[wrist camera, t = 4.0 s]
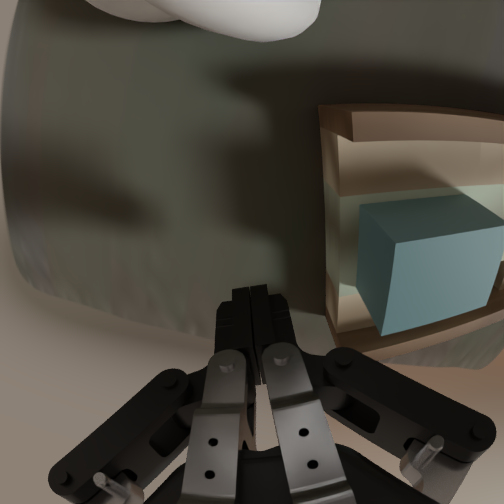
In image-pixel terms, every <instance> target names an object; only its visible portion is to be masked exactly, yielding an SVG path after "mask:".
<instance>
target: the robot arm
mask: <svg viewBox="0 0 504 504" xmlns="http://www.w3.org/2000/svg"><path fill="white" fill-rule="evenodd" d="M250 292H251V295H250ZM260 373H261V378H262V383H263V384H267V389H268V395H269V400H270V405H271V409H272V414H273V419H274V424H275V428H276V433H277V438H278V443H279V446H276V447H274V448H271V449H268V450H265V451H257V449H256V388H255V385H261V378H260ZM324 411H325V412H326V413H327V414H328V415H330V416H331V417H333V418H335V419H336V420H338V421H339V422H340V423H342V424H343V425H345V426H347V427H348V428H350V429H351V430H353V431H354V432H356V433H358V434H359V435H361V436H362V437H364V438H366V439H367V440H369V441H371V442H372V443H374V444H376V445H377V446H379V447H381V448H382V449H384V450H386V451H387V452H389V453H391V454H392V455H394V456H396V457H398V458H400V459H401V461H400V466H399V467H400V471H401V473H402V475H403V476H404V477H405V478H406V479H407V480H409V482H410V483H411V484H412V486H413V487H411V486H409V485H408V484H406V483H404V482H403V481H401V480H400V479H398V478H396V477H395V476H393V475H392V474H390V473H388V472H387V471H385V470H384V469H382V468H381V467H379V466H378V465H376V464H374V463H373V462H372V461H370V460H369V459H367V458H366V457H364V456H362V455H361V454H360V453H358V452H357V451H355V450H353V449H351V448H349V447H347V446H344V445H340V444H336V443H334V441H333V437H332V434H331V432H330V429H329V425H328V422H327V419H326V417H325V413H324ZM495 438H496V427H495V424H494V422H493V421H492V420H491V419H490V418H489V417H488V416H486V415H484V414H481V413H479V412H477V411H475V410H473V409H471V408H468V407H467V406H465V405H463V404H460V403H458V402H456V401H454V400H452V399H450V398H448V397H446V396H444V395H442V394H440V393H438V392H436V391H434V390H432V389H429V388H428V387H426V386H424V385H422V384H420V383H418V382H416V381H414V380H412V379H410V378H408V377H406V376H404V375H402V374H400V373H398V372H397V371H395V370H393V369H391V368H389V367H387V366H385V365H383V364H381V363H379V362H377V361H375V360H374V359H372V358H370V357H368V356H366V355H364V354H362V353H360V352H359V351H357V350H355V349H353V348H349V347H338V348H335V349H333V350H331V351H329V352H328V353H327V354H326V356H319V355H311V354H308V353H306V352H304V351H302V350H301V349H300V348H299V347H298V345H297V342H296V338H295V334H294V329H293V325H292V321H291V317H290V312H289V307H288V303H287V300H286V299H285V298H284V297H283V296H282V295H281V294H275V295H268V290H267V284H263V285H257V286H250V290H249V287H243V288H236V289H232V301H226V302H222V303H221V304H220V306H219V307H218V309H217V313H216V330H215V350H214V355H213V356H212V357H211V358H210V360H209V362H208V365H207V366H206V367H205V368H203V369H201V370H199V371H196V372H193V373H191V374H188V375H187V374H186V373H185V372H184V371H182V370H180V369H167V370H164V371H162V372H161V373H160V374H158V375H157V376H156V377H155V378H153V379H152V380H151V381H150V382H149V383H148V384H147V385H146V386H145V387H143V388H142V389H141V390H140V391H139V392H138V393H137V394H136V395H135V396H133V397H132V398H131V399H130V400H129V401H128V402H127V403H126V404H124V405H123V406H122V407H121V408H120V409H119V410H118V411H117V412H115V413H114V414H113V415H112V416H111V417H110V418H109V419H107V421H105V422H104V423H103V424H102V425H101V426H99V427H98V428H97V429H96V430H95V431H94V432H93V433H91V434H90V435H89V436H88V437H87V438H86V439H84V440H83V441H82V442H81V443H80V444H79V445H78V446H76V447H75V448H74V449H73V450H72V451H71V452H69V453H68V454H67V455H66V456H65V457H63V458H62V459H61V460H60V461H59V462H57V463H56V464H55V465H54V466H53V467H52V468H51V470H50V472H49V476H48V482H49V485H50V488H51V489H52V490H53V491H54V492H55V493H56V494H58V495H60V496H61V497H63V498H65V499H67V500H68V501H69V502H71V503H72V504H449V503H450V501H451V500H452V498H453V497H454V495H455V493H456V491H457V490H458V488H459V487H460V485H461V483H462V482H463V480H464V478H465V476H466V474H467V473H468V471H469V469H470V467H471V465H472V463H473V462H474V461H475V460H476V459H478V458H479V457H480V456H481V455H482V454H483V453H484V452H485V451H486V450H487V449H488V448H489V447H490V446H491V445H492V444H493V442H494V440H495ZM188 445H189V446H188ZM187 446H188V452H187V458H186V463H184V464H182V465H181V466H179V467H178V468H177V469H176V470H175V471H174V472H173V473H172V474H171V475H170V476H169V477H168V478H167V479H166V480H165V481H164V482H163V483H162V484H161V485H160V487H158V488H157V490H156V491H155V492H154V493H153V494H152V495H151V496H150V497H149V498H148V499H147V500H146V501H145V502H144V492H143V489H144V488H145V487H147V486H148V485H149V484H150V483H151V482H152V481H153V480H154V479H155V478H156V477H157V476H158V475H159V474H160V473H161V472H162V471H163V470H164V469H165V468H166V467H167V466H168V465H169V464H170V463H171V462H172V461H173V460H174V459H175V458H176V457H177V456H178V455H179V454H180V453H181V452H182V451H183V450H184V449H185V448H186V447H187Z"/></svg>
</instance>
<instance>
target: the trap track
mask: <svg viewBox="0 0 504 504" xmlns="http://www.w3.org/2000/svg"><path fill="white" fill-rule="evenodd" d="M318 113H319V123H320V135H321V148H322V163H323V180H324V201H325V231H326V314H325V317H326V319H327V322H328V325H329V328H330V331H331V334H332V336H333V339H334V342H335V345H336V348H338V347H349V348H353V349H355V350H357V351H359V352H360V353H362V354H364V355H366V356H368V357H370V358H372V359H374V360H375V361H379V360H383V359H387V358H391V357H394V356H398V355H402V354H405V353H409V352H412V351H416V350H419V349H422V348H425V347H429V346H432V345H435V344H438V343H441V342H444V341H447V340H450V339H453V338H456V337H459V336H461V335H464V334H467V333H470V332H472V331H475V330H478V329H480V328H483V327H485V326H488V325H490V324H493V323H495V322H498V321H500V320H502V319H504V251H503V255H502V259H501V262H500V265H499V269H498V272H497V275H496V278H495V281H494V284H493V287H492V290H491V293H490V296H489V299H488V301H487V304H486V306H483V307H480V308H477V309H474V310H471V311H468V312H465V313H462V314H459V315H456V316H453V317H450V318H446V319H443V320H440V321H436V322H433V323H430V324H426V325H422V326H419V327H415V328H411V329H408V330H404V331H400V332H396V333H392V334H388V335H384V336H381V335H380V333H379V331H378V329H377V327H376V325H375V323H374V321H373V319H372V317H371V315H370V313H369V311H368V309H367V308H366V306H365V304H364V302H363V300H362V298H361V296H360V294H359V292H358V290H357V289H356V277H357V261H358V240H359V205H360V204H369V203H378V202H387V201H397V200H406V199H417V198H427V197H438V196H449V195H461V194H466V195H467V196H469V197H471V198H472V199H474V200H475V201H477V202H478V203H480V204H481V205H483V206H484V207H486V208H487V209H489V210H490V211H492V212H493V213H495V214H496V215H497V216H499V217H500V218H502V219H503V220H504V115H501V114H495V113H489V112H483V111H476V110H468V109H460V108H451V107H440V106H428V105H411V104H379V103H360V104H326V105H318Z"/></svg>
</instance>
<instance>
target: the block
mask: <svg viewBox="0 0 504 504" xmlns="http://www.w3.org/2000/svg"><path fill="white" fill-rule="evenodd" d="M503 251H504V220H503V219H502V218H500V217H499V216H497V215H496V214H495V213H493V212H492V211H490V210H489V209H487V208H486V207H484V206H483V205H481V204H480V203H478V202H477V201H475V200H474V199H472V198H471V197H469V196H467V195H466V194H461V195H449V196H438V197H427V198H417V199H406V200H397V201H387V202H378V203H369V204H360V205H359V240H358V261H357V277H356V289H357V290H358V292H359V294H360V296H361V298H362V300H363V302H364V304H365V306H366V308H367V309H368V311H369V313H370V315H371V317H372V319H373V321H374V323H375V325H376V327H377V329H378V331H379V333H380V335H381V336H384V335H388V334H392V333H396V332H400V331H404V330H408V329H411V328H415V327H419V326H422V325H426V324H430V323H433V322H436V321H440V320H443V319H446V318H450V317H453V316H456V315H459V314H462V313H465V312H468V311H471V310H474V309H477V308H480V307H483V306H486V304H487V301H488V299H489V296H490V293H491V290H492V287H493V284H494V281H495V278H496V275H497V272H498V269H499V265H500V262H501V259H502V255H503Z"/></svg>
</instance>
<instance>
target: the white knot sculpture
mask: <svg viewBox="0 0 504 504" xmlns="http://www.w3.org/2000/svg"><path fill="white" fill-rule="evenodd" d="M86 1H87V2H89V3H90V4H91V5H93V6H94V7H96V8H98V9H100V10H102V11H105V12H107V13H109V14H111V15H114V16H117V17H121V18H124V19H128V20H133V21H139V22H153V23H157V22H169V21H175V20H182V21H184V22H186V23H188V24H191V25H194V26H197V27H199V28H202V29H205V30H207V31H211V32H215V33H219V34H223V35H227V36H231V37H235V38H239V39H243V40H249V41H257V42H270V41H278V40H282V39H286V38H291V37H295V36H297V35H298V34H300V33H302V32H303V31H304V30H305V29H307V28H308V27H309V26H310V25H311V24H312V23H313V22H314V21H315V20H316V18H317V16H318V12H319V8H320V3H321V0H86Z"/></svg>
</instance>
